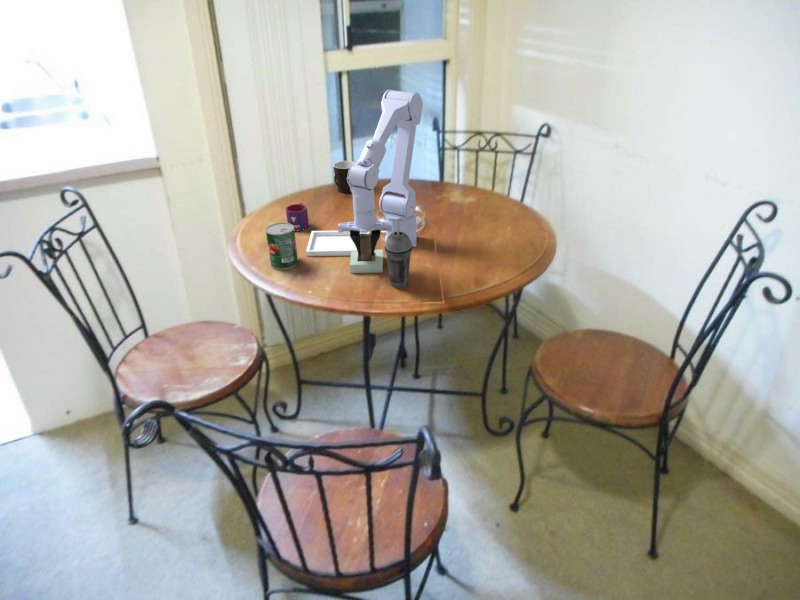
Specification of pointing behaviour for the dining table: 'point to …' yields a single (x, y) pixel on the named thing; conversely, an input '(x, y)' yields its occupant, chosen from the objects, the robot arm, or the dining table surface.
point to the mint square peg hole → (366, 263)
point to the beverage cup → (398, 257)
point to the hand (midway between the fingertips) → (366, 254)
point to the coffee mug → (342, 175)
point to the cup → (297, 216)
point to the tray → (330, 243)
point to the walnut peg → (366, 247)
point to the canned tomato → (282, 245)
